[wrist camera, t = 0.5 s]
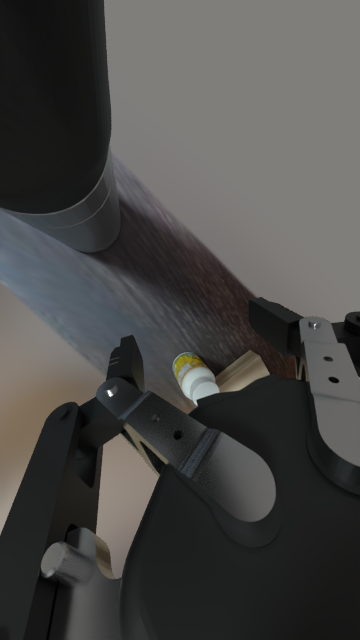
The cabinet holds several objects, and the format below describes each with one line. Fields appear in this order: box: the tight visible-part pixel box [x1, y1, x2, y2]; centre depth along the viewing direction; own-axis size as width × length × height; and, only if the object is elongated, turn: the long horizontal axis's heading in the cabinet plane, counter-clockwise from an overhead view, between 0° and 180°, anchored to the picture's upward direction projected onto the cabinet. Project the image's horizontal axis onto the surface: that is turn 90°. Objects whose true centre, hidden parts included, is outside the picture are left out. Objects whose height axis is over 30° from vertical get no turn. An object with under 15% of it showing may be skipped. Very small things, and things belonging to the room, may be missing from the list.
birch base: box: [215, 350, 270, 393], centre depth 38 cm, size 14×12×3 cm
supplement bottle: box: [173, 352, 219, 406], centre depth 31 cm, size 5×5×10 cm
